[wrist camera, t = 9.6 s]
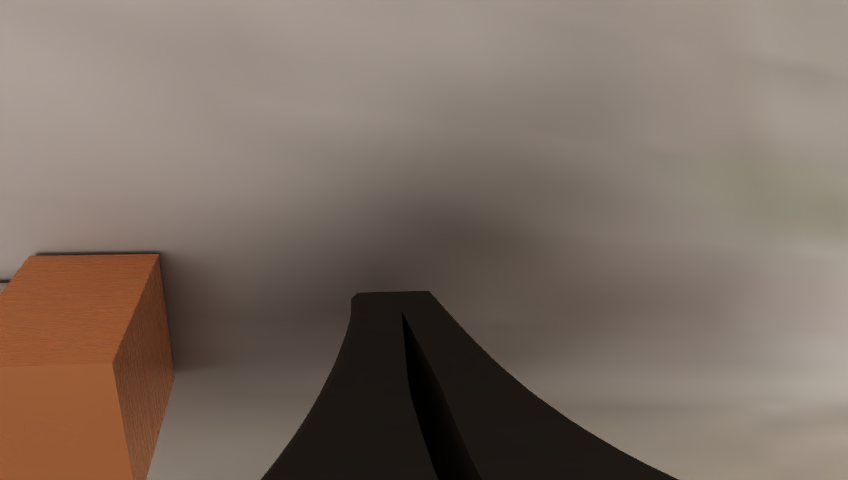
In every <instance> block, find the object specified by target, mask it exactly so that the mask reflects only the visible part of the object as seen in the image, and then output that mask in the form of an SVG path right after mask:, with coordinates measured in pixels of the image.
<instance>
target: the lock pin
mask: <svg viewBox="0 0 848 480" xmlns="http://www.w3.org/2000/svg"><path fill="white" fill-rule="evenodd" d="M174 379H175V377H174V369H173V362H172V354H171V346H170V339H169V331H168V323H167V316H166V308H165V300H164V293H163V285H162V277H161V270H160V262H159V254H121V255H57V256H29V258H28V259H27V260H26V261H25V263H24V264H23V265H22V267H21V268H20V269H19V270H18V272H17V273H16V274H15V276H14V277H13V278H12V279H11V281H10V282H9V283H0V480H146V478H147V474H148V471H149V467H150V464H151V460H152V457H153V453H154V450H155V446H156V442H157V439H158V435H159V432H160V428H161V425H162V421H163V418H164V414H165V410H166V407H167V403H168V400H169V396H170V393H171V389H172V386H173V382H174Z"/></svg>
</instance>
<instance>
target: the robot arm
mask: <svg viewBox="0 0 848 480" xmlns="http://www.w3.org/2000/svg"><path fill="white" fill-rule="evenodd" d="M261 480H678V479H676V478H674V477H672V476H670V475H668V474H665V473H663V472H661V471H659V470H657V469H655V468H653V467H651V466H649V465H647V464H645V463H643V462H641V461H639V460H637V459H635V458H634V457H632V456H630V455H628V454H626V453H624V452H622V451H620V450H619V449H617V448H615V447H614V446H612V445H610V444H608V443H607V442H605V441H603V440H602V439H600V438H598V437H597V436H595V435H593V434H591V433H590V432H588V431H586V430H585V429H583V428H582V427H580V426H579V425H577V424H576V423H574V422H572V421H571V420H569V419H568V418H566V417H565V416H564V415H562V414H561V413H559V412H558V411H557V410H555V409H554V408H552V407H551V406H550V405H548V404H547V403H545V402H544V401H543V400H541V399H540V398H538V397H537V396H536V395H535V394H533V393H532V392H531V391H529V390H528V389H527V388H526V387H524V386H523V385H522V384H521V383H520V382H518V381H517V380H516V379H515V378H514V377H513V376H511V375H510V374H509V373H508V372H507V371H506V370H504V369H503V368H502V367H501V366H500V365H499V364H498V363H497V362H496V361H494V360H493V359H492V358H491V357H490V356H489V355H488V354H487V353H486V352H485V351H484V350H483V349H482V348H481V347H480V346H479V345H478V344H477V343H476V342H475V341H474V340H473V339H472V338H471V337H470V336H469V335H468V334H467V333H466V331H465V330H464V329H463V328H462V327H461V326H460V325H459V324H458V323H457V322H456V321H455V320H454V318H453V317H452V316H451V315H450V314H449V313H448V312H447V311H446V310H445V308H444V307H443V306H442V305H441V304H440V303H439V302H438V301H437V299H436V298H435V297H434V296H433V295H432V294H431V293H430V292H429V291H409V292H369V293H357V294H356V295H355V296H354V297H353V298H352V299H351V317H350V322H349V325H348V329H347V332H346V336H345V338H344V341H343V344H342V346H341V349H340V352H339V354H338V357H337V359H336V362H335V364H334V366H333V368H332V370H331V372H330V374H329V376H328V378H327V380H326V383H325V385H324V387H323V389H322V391H321V393H320V395H319V396H318V398H317V400H316V402H315V403H314V405H313V407H312V409H311V410H310V412H309V414H308V415H307V417H306V418H305V420H304V422H303V423H302V425H301V426H300V428H299V429H298V431H297V432H296V434H295V435H294V437H293V438H292V439H291V441H290V442H289V444H288V445H287V446H286V448H285V449H284V450H283V452H282V453H281V454H280V456H279V457H278V459H277V460H276V461H275V463H274V464H273V465H272V466H271V468H270V469H269V470H268V471H267V473H266V474H265V475H264V476H263V477H262V479H261Z"/></svg>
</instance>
